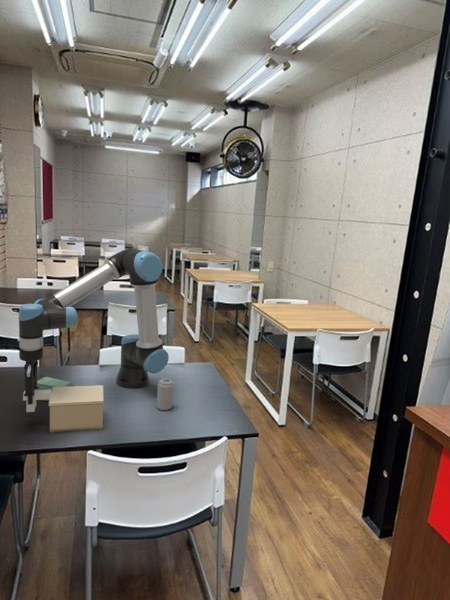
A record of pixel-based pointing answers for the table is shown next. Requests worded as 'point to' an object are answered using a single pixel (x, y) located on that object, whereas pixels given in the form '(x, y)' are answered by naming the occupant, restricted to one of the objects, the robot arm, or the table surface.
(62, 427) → the carton
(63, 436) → the table surface
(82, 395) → the lid
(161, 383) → the beverage can
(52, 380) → the box
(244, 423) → the table surface
